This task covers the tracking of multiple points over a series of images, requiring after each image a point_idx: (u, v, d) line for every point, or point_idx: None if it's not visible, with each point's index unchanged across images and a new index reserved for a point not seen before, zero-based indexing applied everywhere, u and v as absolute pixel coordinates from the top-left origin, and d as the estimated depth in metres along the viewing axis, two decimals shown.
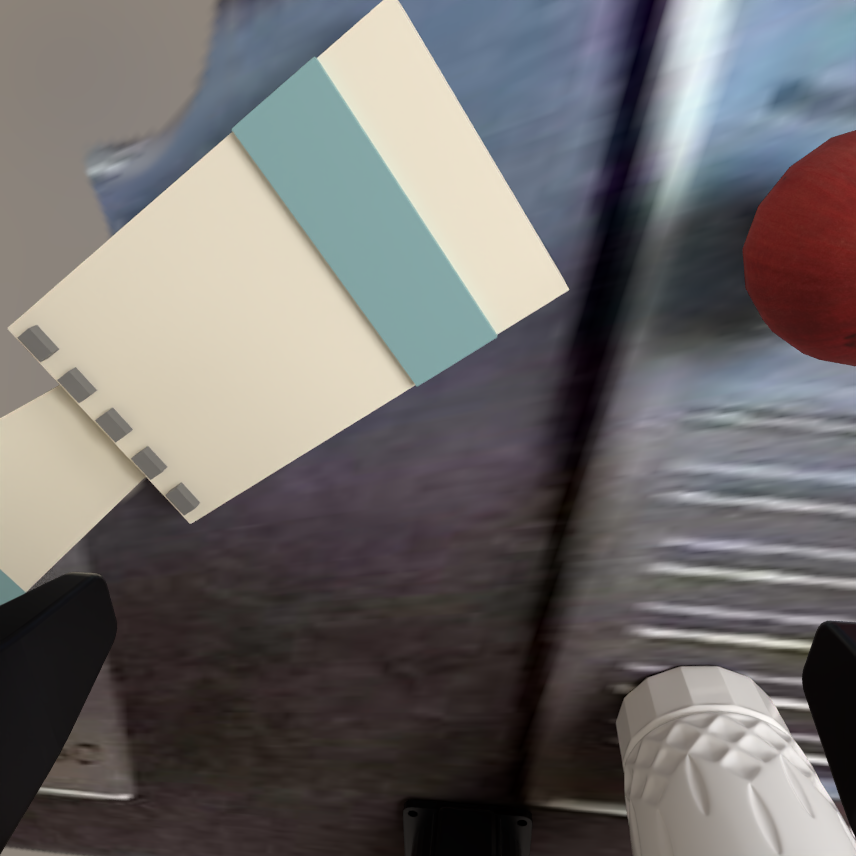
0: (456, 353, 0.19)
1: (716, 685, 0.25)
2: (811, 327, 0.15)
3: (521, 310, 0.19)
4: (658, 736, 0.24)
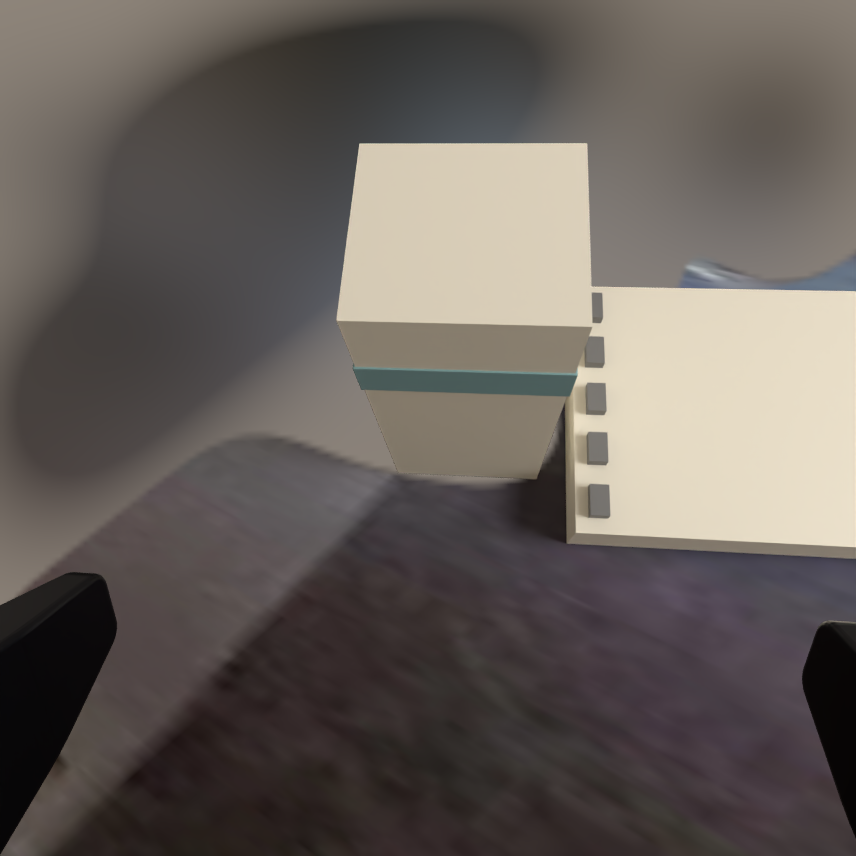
0: None
1: None
2: None
3: None
4: None
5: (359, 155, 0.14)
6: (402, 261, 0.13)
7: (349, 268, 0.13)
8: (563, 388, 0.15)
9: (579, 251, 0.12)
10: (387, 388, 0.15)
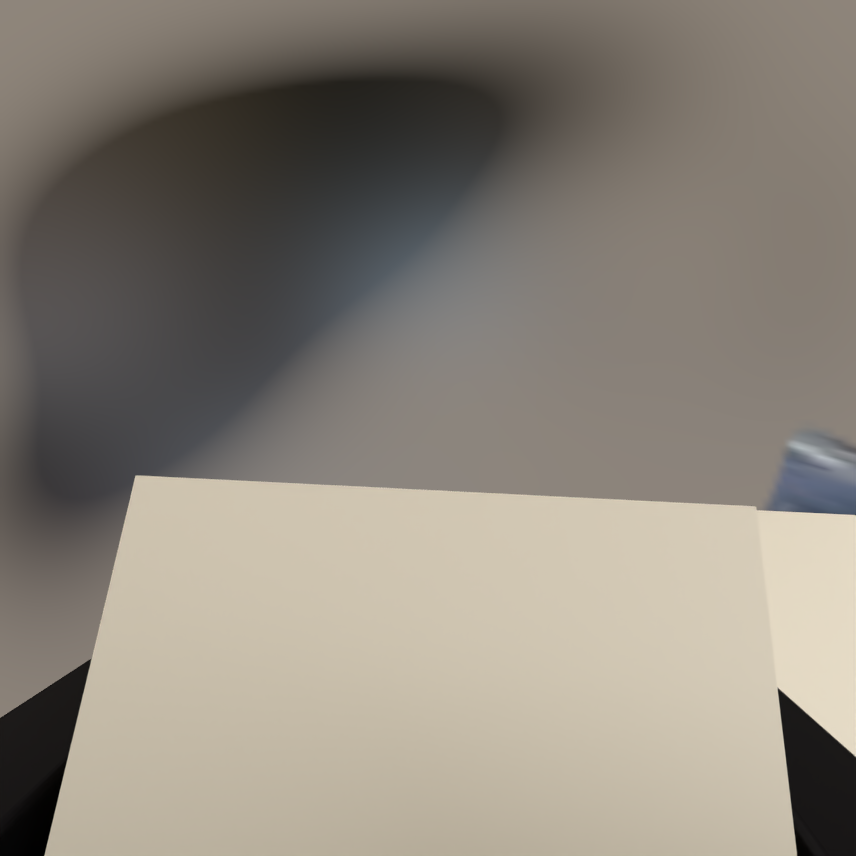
0: None
1: None
2: None
3: None
4: None
5: (131, 512, 0.05)
6: None
7: None
8: None
9: None
10: None
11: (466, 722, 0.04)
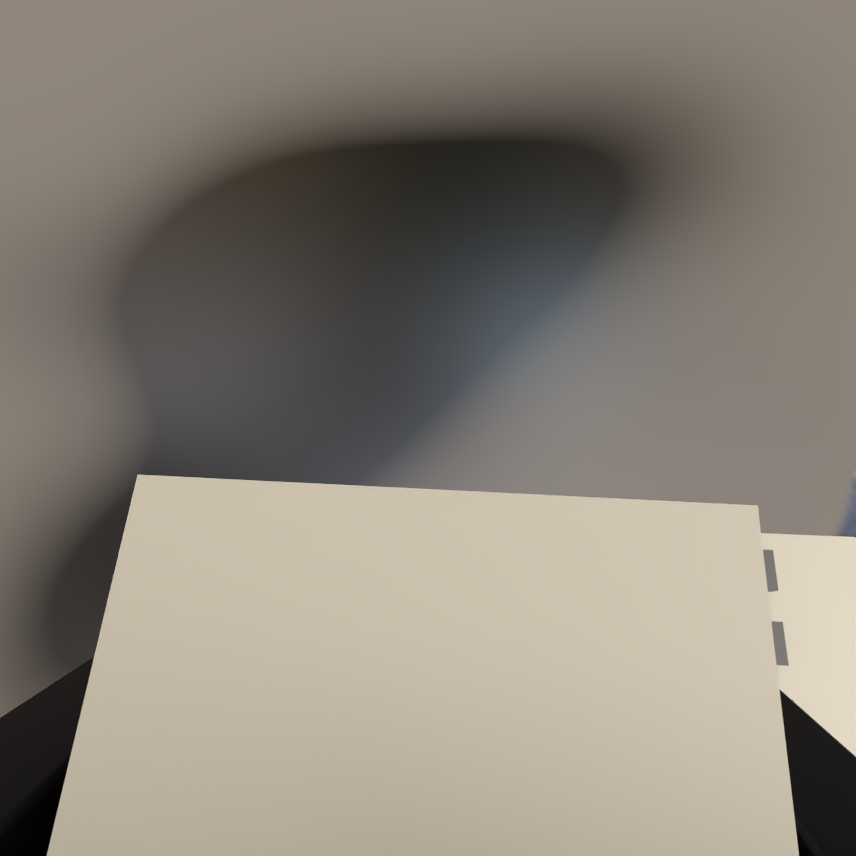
0: None
1: None
2: None
3: None
4: None
5: (133, 512, 0.05)
6: None
7: None
8: None
9: None
10: None
11: (468, 721, 0.04)
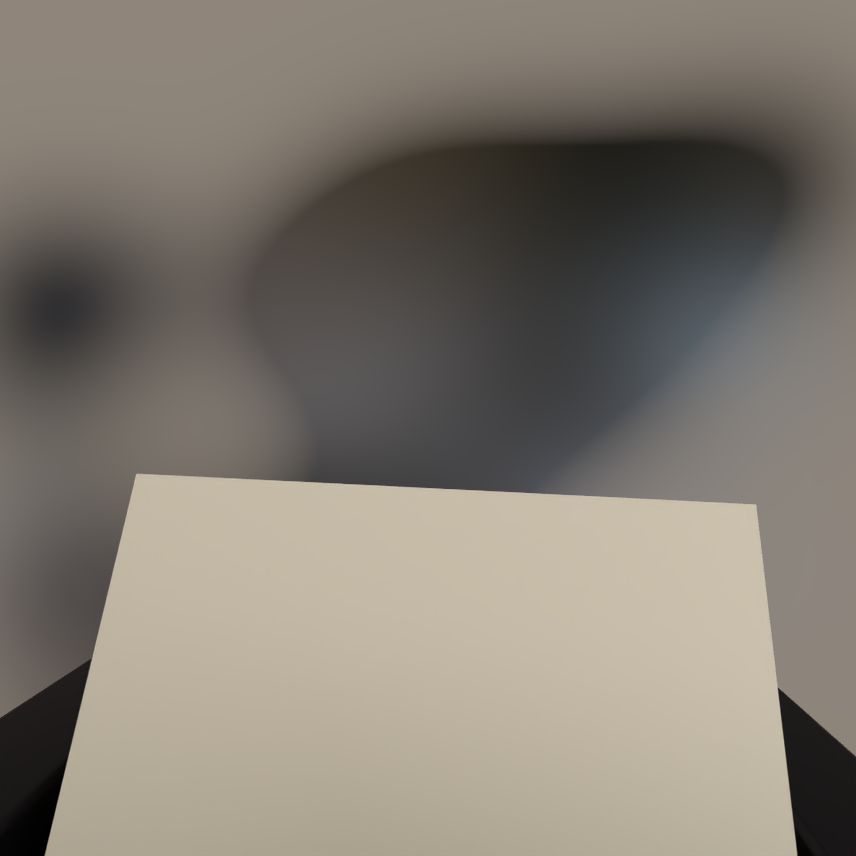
0: None
1: None
2: None
3: None
4: None
5: (131, 511, 0.05)
6: None
7: None
8: None
9: None
10: None
11: (466, 720, 0.04)
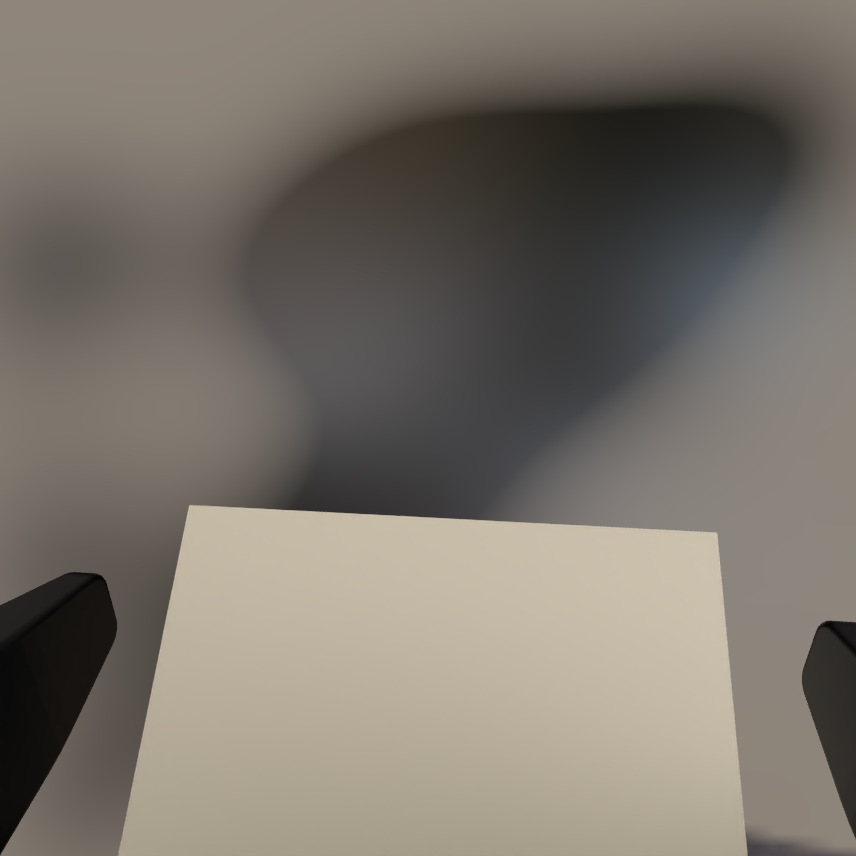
0: None
1: None
2: None
3: None
4: None
5: (186, 537, 0.06)
6: None
7: None
8: None
9: None
10: None
11: (473, 715, 0.05)
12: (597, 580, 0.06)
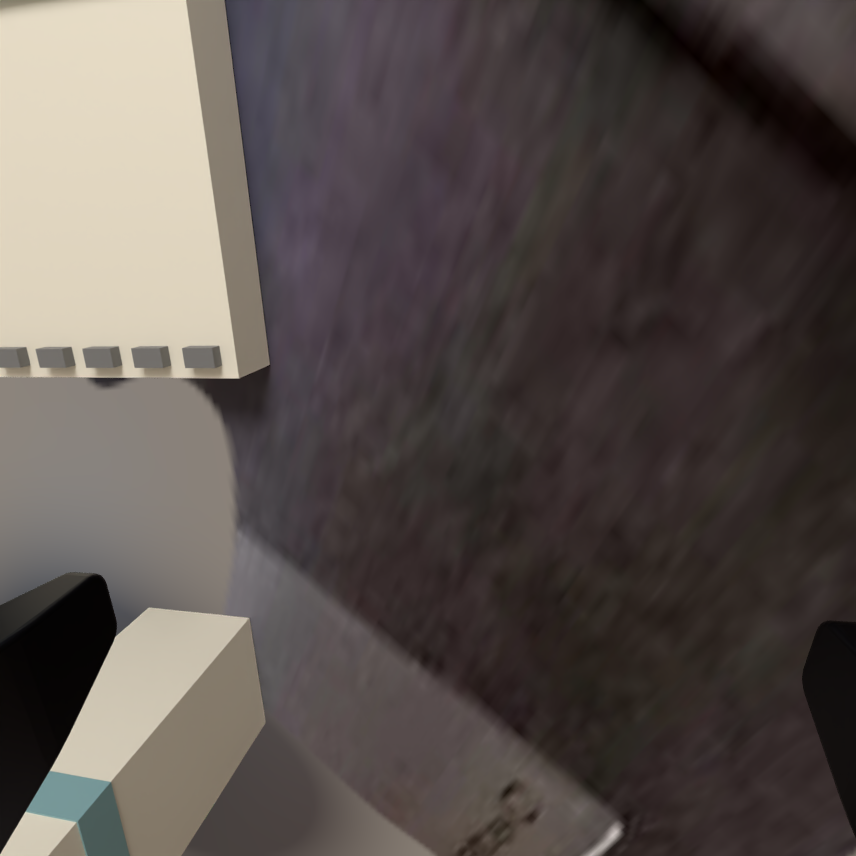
0: None
1: None
2: None
3: None
4: None
5: None
6: None
7: None
8: (100, 802, 0.16)
9: None
10: None
11: None
12: None
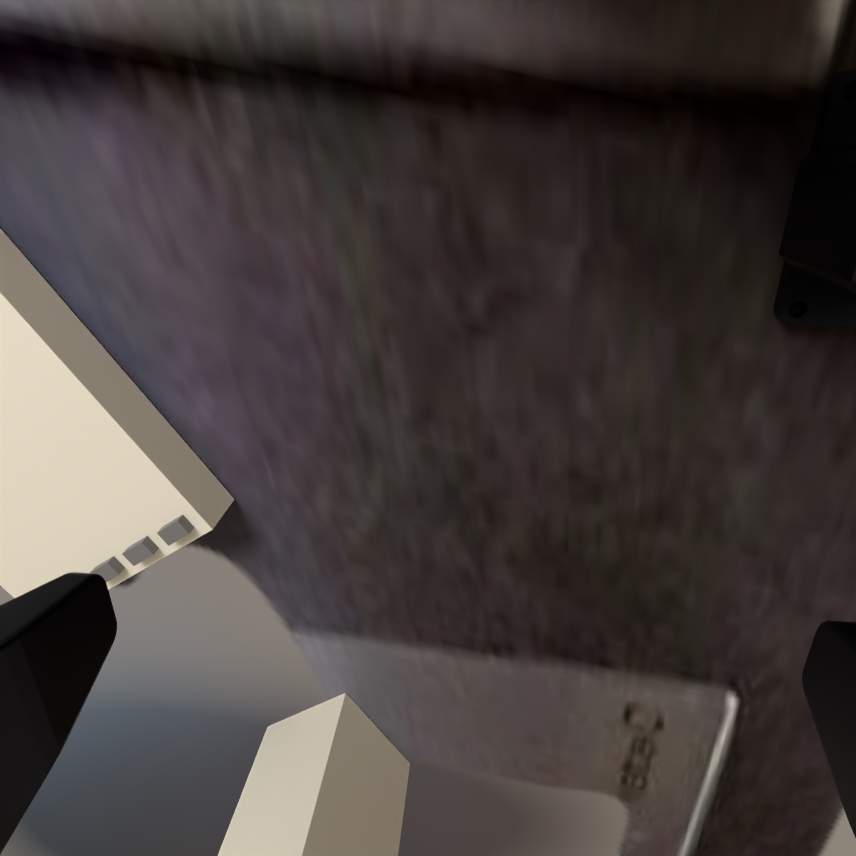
0: None
1: None
2: None
3: None
4: None
5: None
6: None
7: None
8: None
9: None
10: None
11: None
12: None
